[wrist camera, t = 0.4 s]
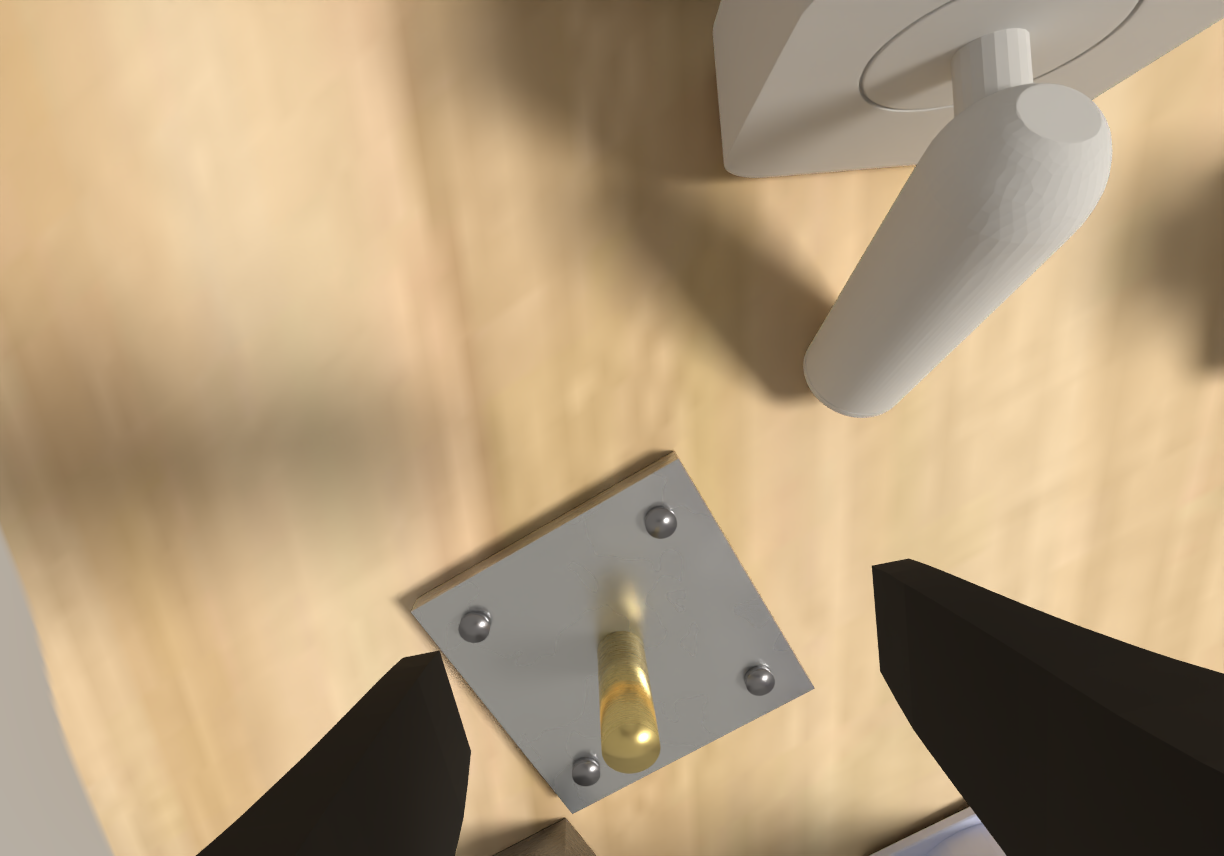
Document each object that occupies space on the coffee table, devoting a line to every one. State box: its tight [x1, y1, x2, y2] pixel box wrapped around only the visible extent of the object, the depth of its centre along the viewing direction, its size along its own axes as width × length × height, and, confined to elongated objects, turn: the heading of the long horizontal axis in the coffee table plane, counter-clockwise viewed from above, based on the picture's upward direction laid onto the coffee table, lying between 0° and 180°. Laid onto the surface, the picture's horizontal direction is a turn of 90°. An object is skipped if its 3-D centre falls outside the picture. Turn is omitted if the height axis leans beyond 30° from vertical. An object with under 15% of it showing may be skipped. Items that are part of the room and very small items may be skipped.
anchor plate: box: [411, 451, 815, 814], centre depth 18 cm, size 10×10×5 cm
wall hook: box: [713, 0, 1224, 418], centre depth 13 cm, size 8×10×10 cm
